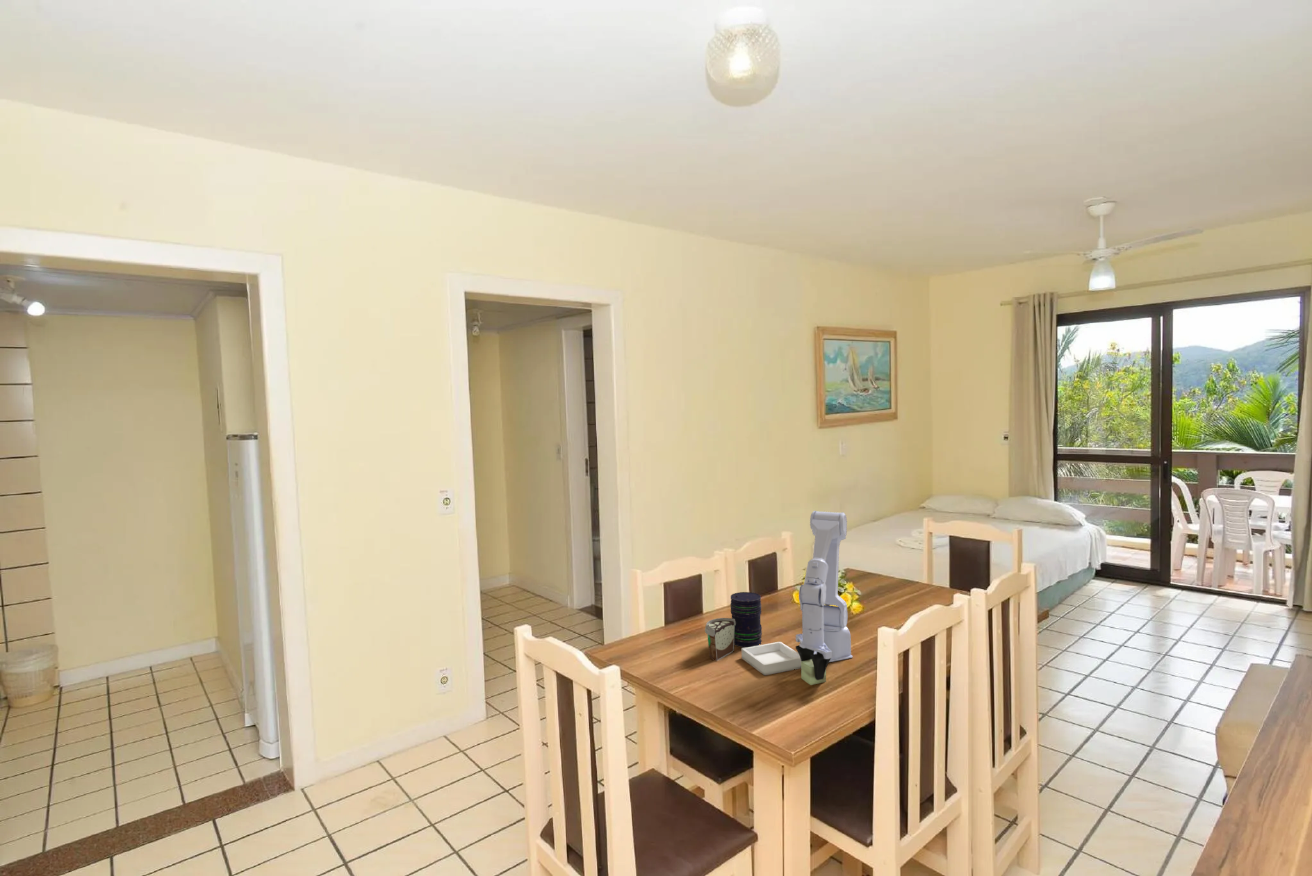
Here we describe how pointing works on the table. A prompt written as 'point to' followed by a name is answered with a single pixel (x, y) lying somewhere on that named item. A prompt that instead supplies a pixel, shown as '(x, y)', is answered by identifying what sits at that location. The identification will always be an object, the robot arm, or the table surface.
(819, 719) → the table surface
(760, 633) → the storage jar
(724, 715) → the table surface
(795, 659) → the grey tray
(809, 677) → the green block
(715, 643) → the food container
